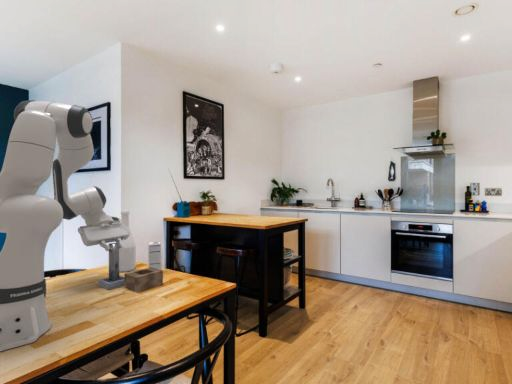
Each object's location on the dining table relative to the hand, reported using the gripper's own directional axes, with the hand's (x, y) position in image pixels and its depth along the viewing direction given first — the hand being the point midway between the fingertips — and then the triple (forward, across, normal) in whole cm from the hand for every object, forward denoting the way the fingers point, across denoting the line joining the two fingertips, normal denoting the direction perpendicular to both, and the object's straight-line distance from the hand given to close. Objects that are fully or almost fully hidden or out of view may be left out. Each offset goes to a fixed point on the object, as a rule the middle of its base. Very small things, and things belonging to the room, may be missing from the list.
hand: (115, 248), depth 126 cm
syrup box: (+11, +22, +10) cm, 27 cm away
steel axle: (+9, 0, +10) cm, 13 cm away
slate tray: (+10, 0, +11) cm, 15 cm away
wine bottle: (0, +19, +22) cm, 29 cm away
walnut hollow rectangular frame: (+19, +4, +2) cm, 20 cm away
